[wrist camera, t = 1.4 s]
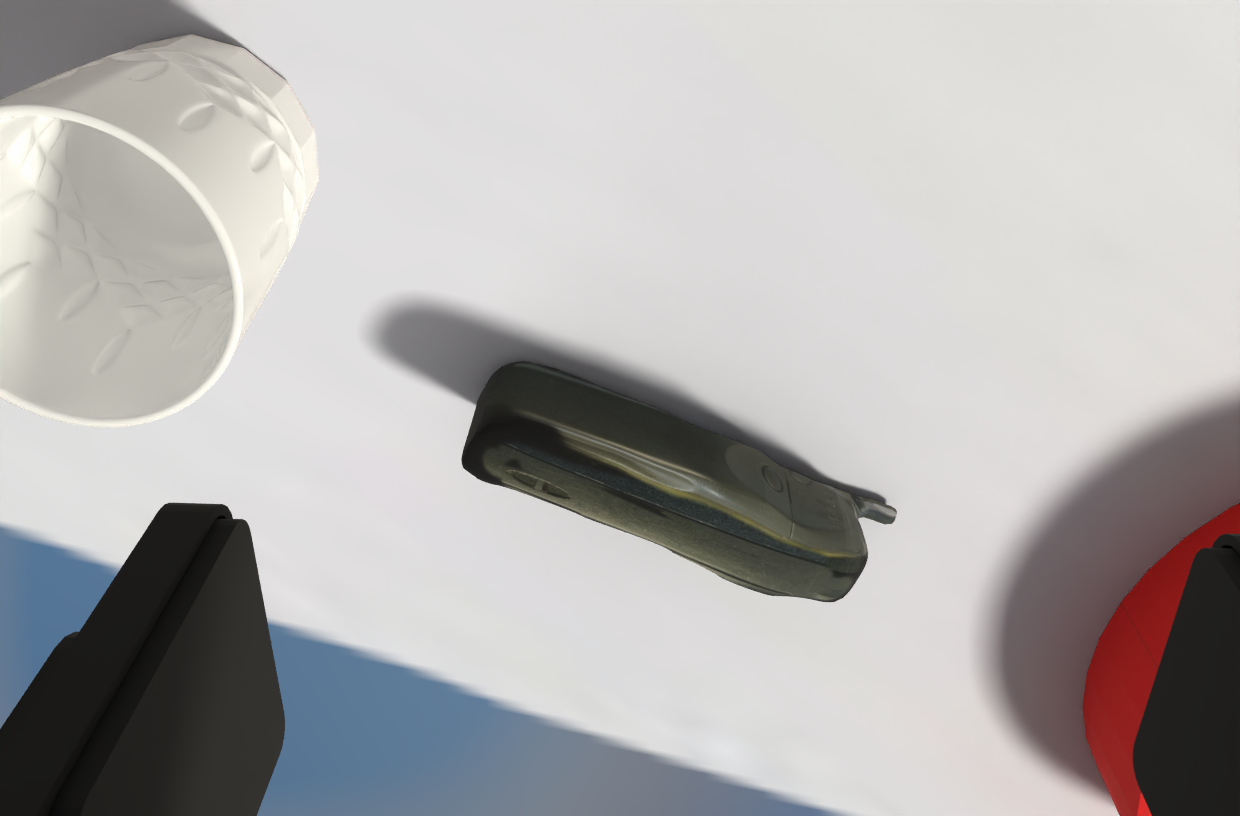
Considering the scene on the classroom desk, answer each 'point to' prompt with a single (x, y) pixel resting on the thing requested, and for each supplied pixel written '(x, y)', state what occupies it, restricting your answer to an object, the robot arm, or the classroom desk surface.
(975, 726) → the classroom desk surface
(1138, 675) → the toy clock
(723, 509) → the mobile phone
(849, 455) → the classroom desk surface
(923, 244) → the classroom desk surface
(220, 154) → the white cup
